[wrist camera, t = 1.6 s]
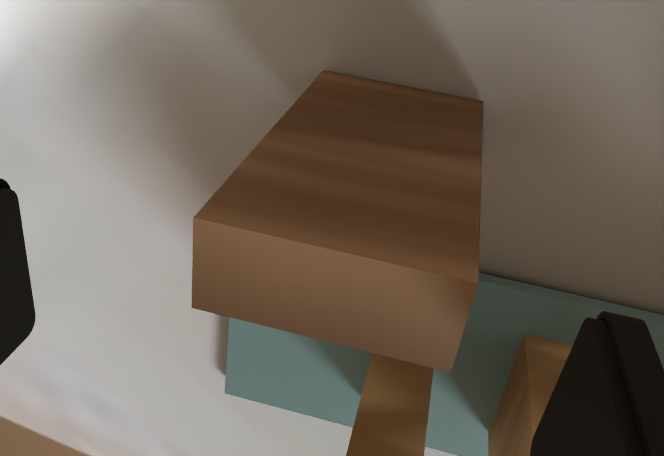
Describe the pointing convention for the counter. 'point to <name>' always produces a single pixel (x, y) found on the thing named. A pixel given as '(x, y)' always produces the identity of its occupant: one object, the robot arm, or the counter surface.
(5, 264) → the robot arm
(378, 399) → the domino
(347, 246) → the domino
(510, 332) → the board
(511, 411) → the domino
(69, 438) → the counter surface
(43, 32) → the counter surface
